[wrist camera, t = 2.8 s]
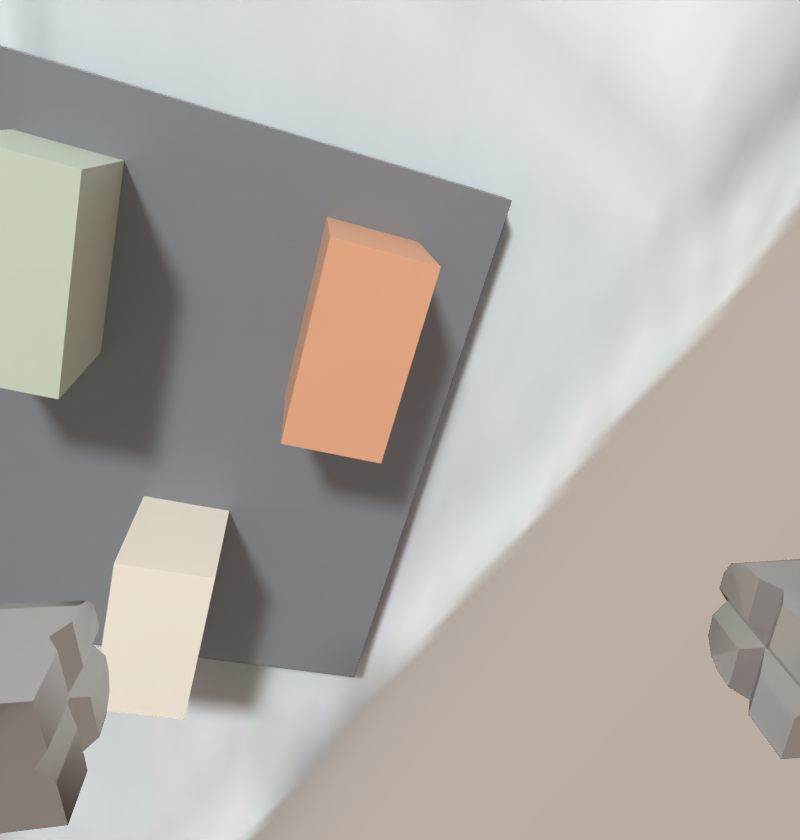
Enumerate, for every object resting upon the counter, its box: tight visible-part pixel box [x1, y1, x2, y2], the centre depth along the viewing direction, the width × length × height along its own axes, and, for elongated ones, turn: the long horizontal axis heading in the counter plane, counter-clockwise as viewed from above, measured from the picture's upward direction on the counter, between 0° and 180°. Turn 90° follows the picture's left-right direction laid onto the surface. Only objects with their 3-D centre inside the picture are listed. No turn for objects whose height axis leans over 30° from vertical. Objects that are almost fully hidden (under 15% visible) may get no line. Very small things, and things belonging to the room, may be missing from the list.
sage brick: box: [0, 129, 124, 399], centre depth 18 cm, size 6×3×4 cm, turn 164°
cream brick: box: [101, 496, 229, 720], centre depth 23 cm, size 6×3×4 cm, turn 164°
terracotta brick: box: [281, 217, 441, 463], centre depth 20 cm, size 6×3×4 cm, turn 164°
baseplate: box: [0, 45, 512, 677], centre depth 24 cm, size 20×16×1 cm
